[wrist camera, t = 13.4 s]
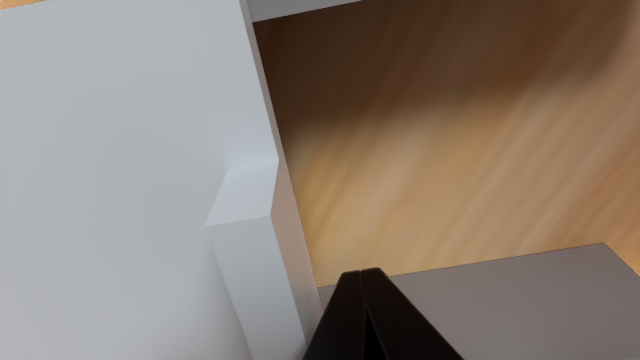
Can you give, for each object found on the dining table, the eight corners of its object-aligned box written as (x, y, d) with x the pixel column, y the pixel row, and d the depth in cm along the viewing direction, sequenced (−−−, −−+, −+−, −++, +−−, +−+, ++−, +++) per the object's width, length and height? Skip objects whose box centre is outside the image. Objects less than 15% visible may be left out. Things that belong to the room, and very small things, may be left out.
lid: (349, 422, 13) (359, 531, 10) (10, 467, 14) (-57, 580, 11) (236, -39, 7) (197, -40, 5) (-341, 84, 8) (-641, 139, 5)
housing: (600, 263, 17) (706, 370, 12) (43, 349, 18) (-42, 471, 14) (659, -121, 11) (895, -178, 7) (-162, 53, 13) (-421, 101, 8)
